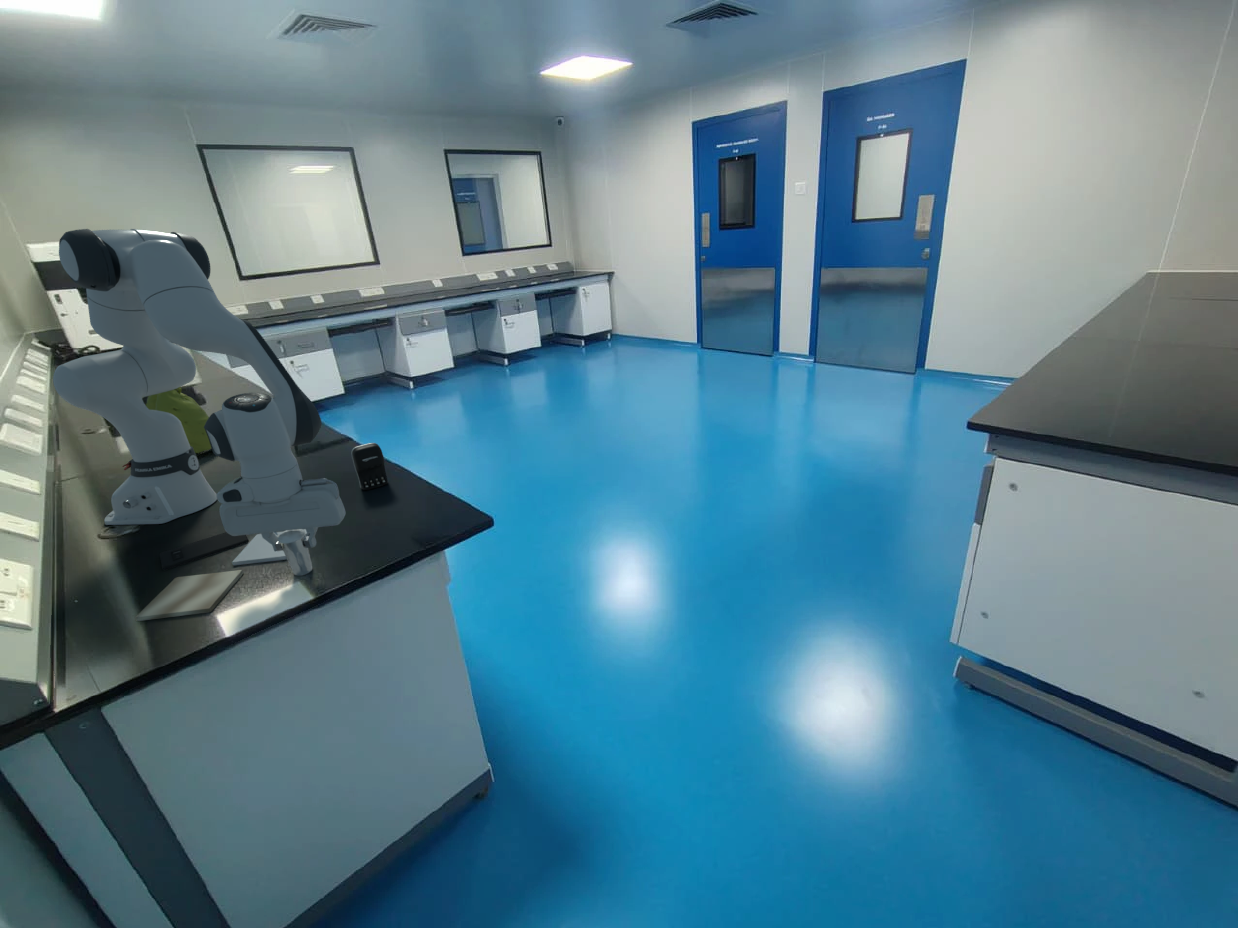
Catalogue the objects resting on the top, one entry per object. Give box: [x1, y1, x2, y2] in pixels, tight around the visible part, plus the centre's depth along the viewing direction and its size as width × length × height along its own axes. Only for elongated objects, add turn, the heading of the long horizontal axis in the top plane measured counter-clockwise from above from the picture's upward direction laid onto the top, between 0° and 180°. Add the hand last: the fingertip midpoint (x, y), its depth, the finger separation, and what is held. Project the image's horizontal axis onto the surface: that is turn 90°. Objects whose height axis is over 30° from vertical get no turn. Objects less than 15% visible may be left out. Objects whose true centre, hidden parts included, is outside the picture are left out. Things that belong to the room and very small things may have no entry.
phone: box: [159, 531, 250, 571], centre depth 116 cm, size 8×1×15 cm
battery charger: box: [350, 442, 389, 491], centre depth 139 cm, size 7×4×11 cm, turn 127°
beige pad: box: [134, 569, 244, 622], centre depth 101 cm, size 12×12×1 cm
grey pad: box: [231, 529, 310, 566], centre depth 115 cm, size 11×11×1 cm
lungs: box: [145, 386, 212, 455], centre depth 169 cm, size 25×16×24 cm, turn 49°
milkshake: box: [273, 529, 313, 577], centre depth 105 cm, size 4×5×10 cm
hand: (296, 547), depth 104 cm, fingers closed on milkshake, 4 cm apart
